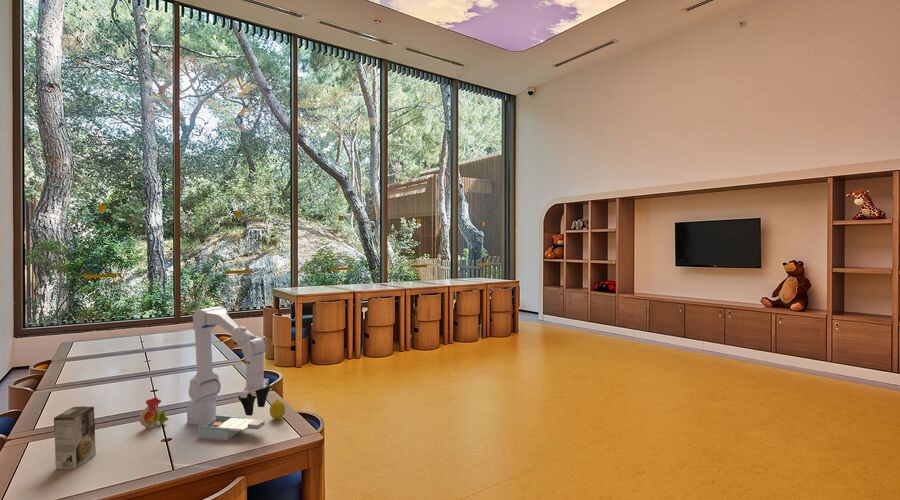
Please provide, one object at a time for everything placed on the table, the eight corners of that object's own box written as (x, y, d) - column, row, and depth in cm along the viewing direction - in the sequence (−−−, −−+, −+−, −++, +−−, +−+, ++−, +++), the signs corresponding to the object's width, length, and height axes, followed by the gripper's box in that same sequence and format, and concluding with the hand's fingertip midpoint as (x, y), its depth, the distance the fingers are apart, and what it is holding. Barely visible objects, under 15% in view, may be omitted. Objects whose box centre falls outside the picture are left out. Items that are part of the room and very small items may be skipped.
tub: (198, 439, 165) (198, 426, 165) (216, 427, 175) (216, 415, 175) (227, 441, 164) (227, 428, 163) (244, 429, 173) (244, 417, 173)
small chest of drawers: (216, 429, 165) (216, 424, 165) (231, 419, 173) (231, 415, 173) (254, 432, 163) (254, 427, 163) (267, 422, 171) (267, 417, 171)
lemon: (280, 423, 179) (279, 402, 179) (266, 422, 180) (266, 401, 180) (287, 417, 184) (287, 397, 184) (274, 416, 185) (274, 396, 185)
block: (211, 431, 170) (211, 425, 170) (215, 428, 173) (215, 421, 173) (219, 431, 170) (219, 425, 170) (223, 428, 173) (223, 421, 173)
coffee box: (75, 455, 153) (73, 406, 152) (96, 454, 154) (95, 405, 153) (54, 469, 144) (52, 417, 143) (76, 469, 144) (75, 416, 144)
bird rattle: (154, 435, 173) (174, 417, 180) (141, 412, 168) (162, 394, 176) (142, 433, 175) (162, 415, 182) (129, 410, 170) (150, 392, 178)
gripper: (253, 379, 159) (254, 419, 159) (276, 367, 173) (276, 404, 173) (234, 378, 160) (234, 418, 160) (258, 366, 174) (258, 402, 175)
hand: (255, 410), depth 167 cm, fingers open, 7 cm apart
